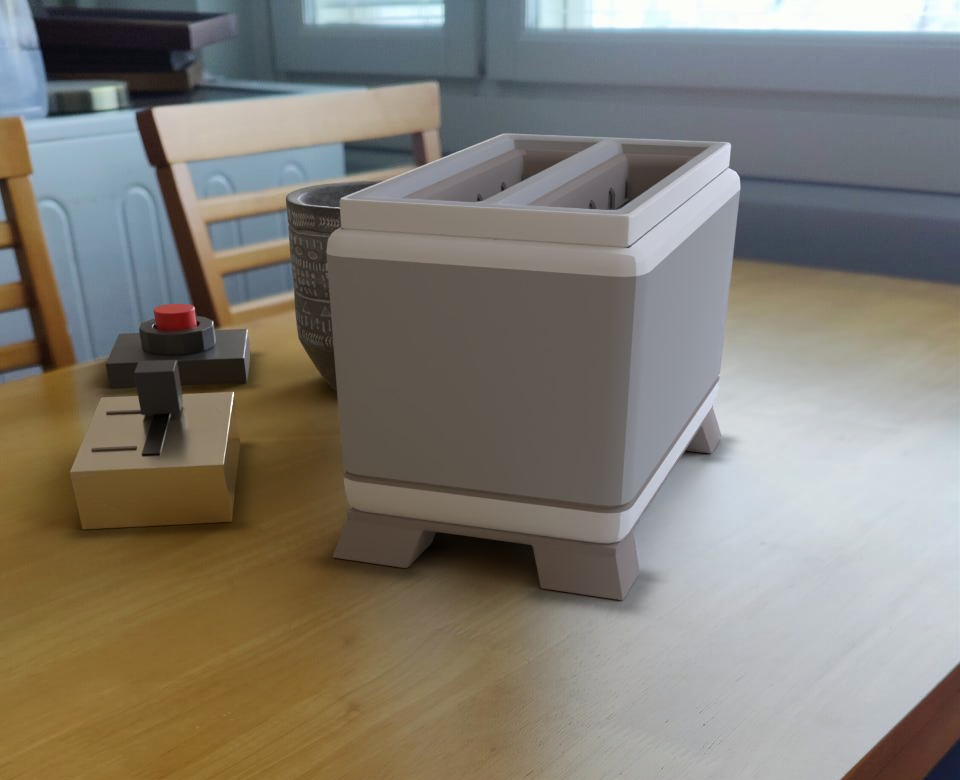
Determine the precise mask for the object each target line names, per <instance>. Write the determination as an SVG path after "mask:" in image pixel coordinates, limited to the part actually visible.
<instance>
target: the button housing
mask: <svg viewBox="0 0 960 780" xmlns="http://www.w3.org/2000/svg"><path fill="white" fill-rule="evenodd" d="M195 316H196V323H197V327H195V328H191V329H186V330H179V331H164V330H157V329H156V323H155V318H150V319H148V320H146V321H144V322H141V323H140V325H139V327H138V332H130V333H129V332H127V333H119V334H117V337H116V340H115V342H114V344H113V346H112V348H111V351H110V352H109V355H108V357H107V360H106V362H105V368H106V373H107V374H106V375H107V379H108V380H107V381H108V384H109V389H110V390H115V389H116V390H117V389H118V390H119V389H137V387H136V381H135V375H134V372H135V370H136V367H137V364H138V362H139V361H156V360H177V363H178V369H179V376H180V382H181V387H185V386H208V385H209V386H211V385H213V386H214V385H233V384H234V385H235V384H236V385H237V384H247V383H248V378H249V369H250V361H251V360H250V359H251V345H250V336H249V329H248V328H233V329H231V328H230V329H215V323H214V320H212V319H210V318H209V317H208V318H207V317H206V316H200V315H195Z"/></svg>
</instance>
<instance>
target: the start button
mask: <svg viewBox="0 0 960 780" xmlns="http://www.w3.org/2000/svg"><path fill="white" fill-rule="evenodd" d="M195 309H196V308H195V306H194V305H192V304H187V303H168V304H161V305H159V306H156V307H154V308H153V316H154V319H155V323H156V329H157V330H164V331H179V330H186V329H191V328H195V327H197V323H196V316H197V315H196V310H195Z"/></svg>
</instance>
